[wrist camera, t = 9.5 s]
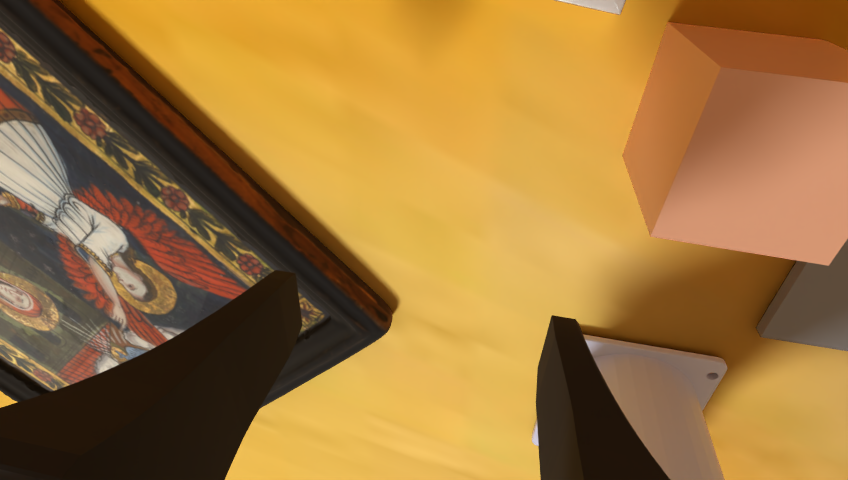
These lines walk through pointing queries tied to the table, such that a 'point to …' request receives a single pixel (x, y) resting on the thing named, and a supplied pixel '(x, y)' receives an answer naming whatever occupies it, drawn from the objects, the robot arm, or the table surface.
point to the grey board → (811, 305)
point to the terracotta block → (744, 143)
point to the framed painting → (135, 221)
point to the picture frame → (599, 5)
